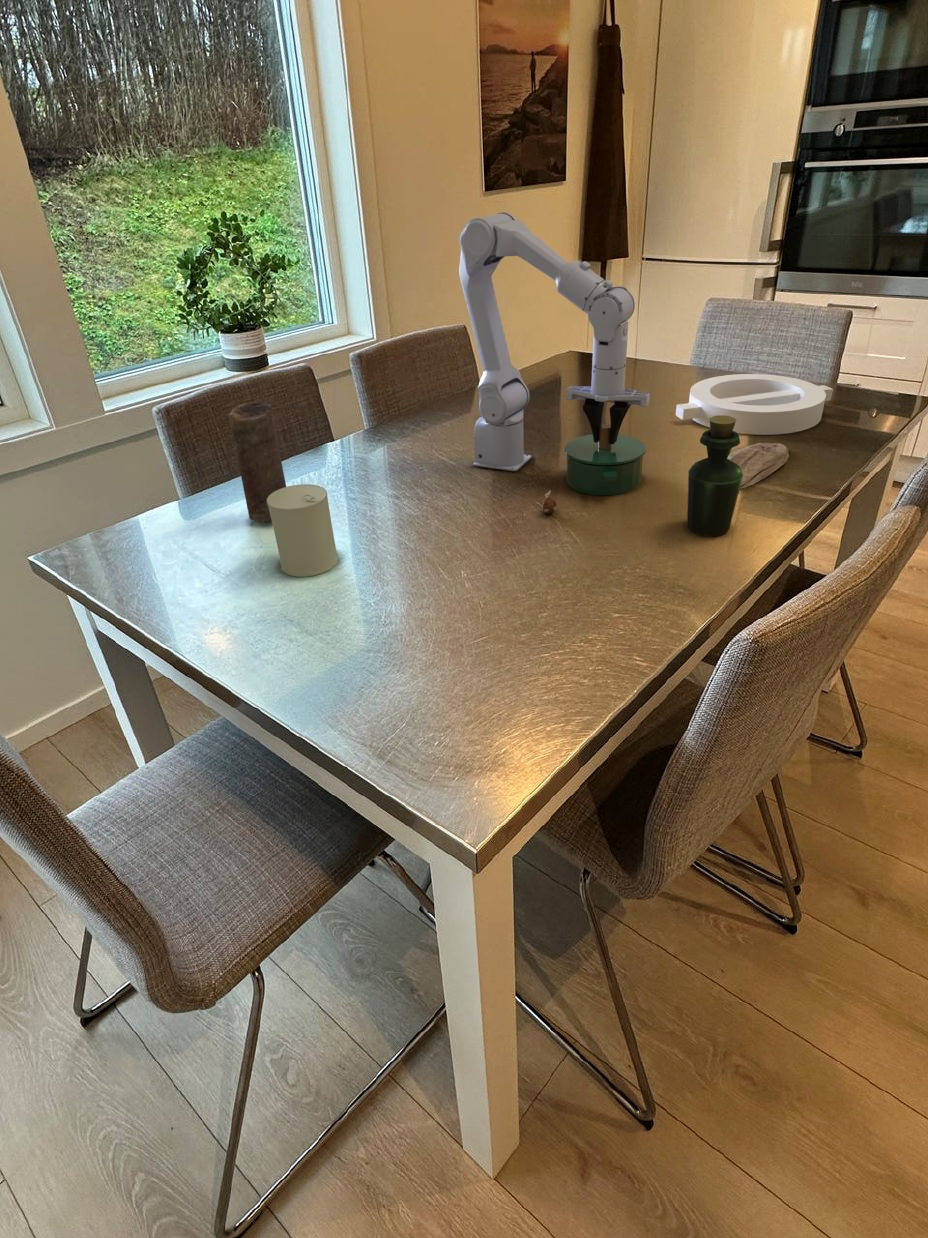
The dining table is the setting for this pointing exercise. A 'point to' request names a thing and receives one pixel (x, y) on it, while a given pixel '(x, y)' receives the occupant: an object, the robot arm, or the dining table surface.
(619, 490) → the pot
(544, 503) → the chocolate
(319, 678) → the dining table surface
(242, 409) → the candle
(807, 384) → the white circle with bar
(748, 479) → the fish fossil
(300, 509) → the can
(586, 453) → the pot lid
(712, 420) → the potion bottle
